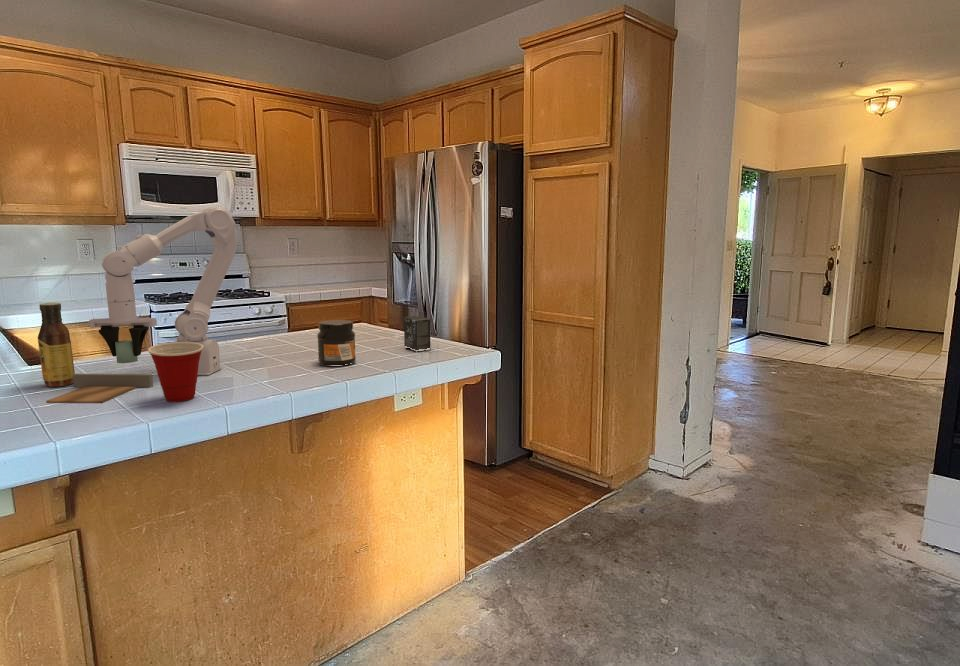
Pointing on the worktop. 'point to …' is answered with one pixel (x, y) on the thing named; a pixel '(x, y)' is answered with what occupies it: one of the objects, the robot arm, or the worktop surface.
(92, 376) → the taupe wall
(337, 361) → the supplement container
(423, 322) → the box
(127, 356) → the sage green cylinder
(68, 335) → the sauce bottle
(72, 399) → the walnut board
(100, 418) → the worktop surface
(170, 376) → the plastic cup
